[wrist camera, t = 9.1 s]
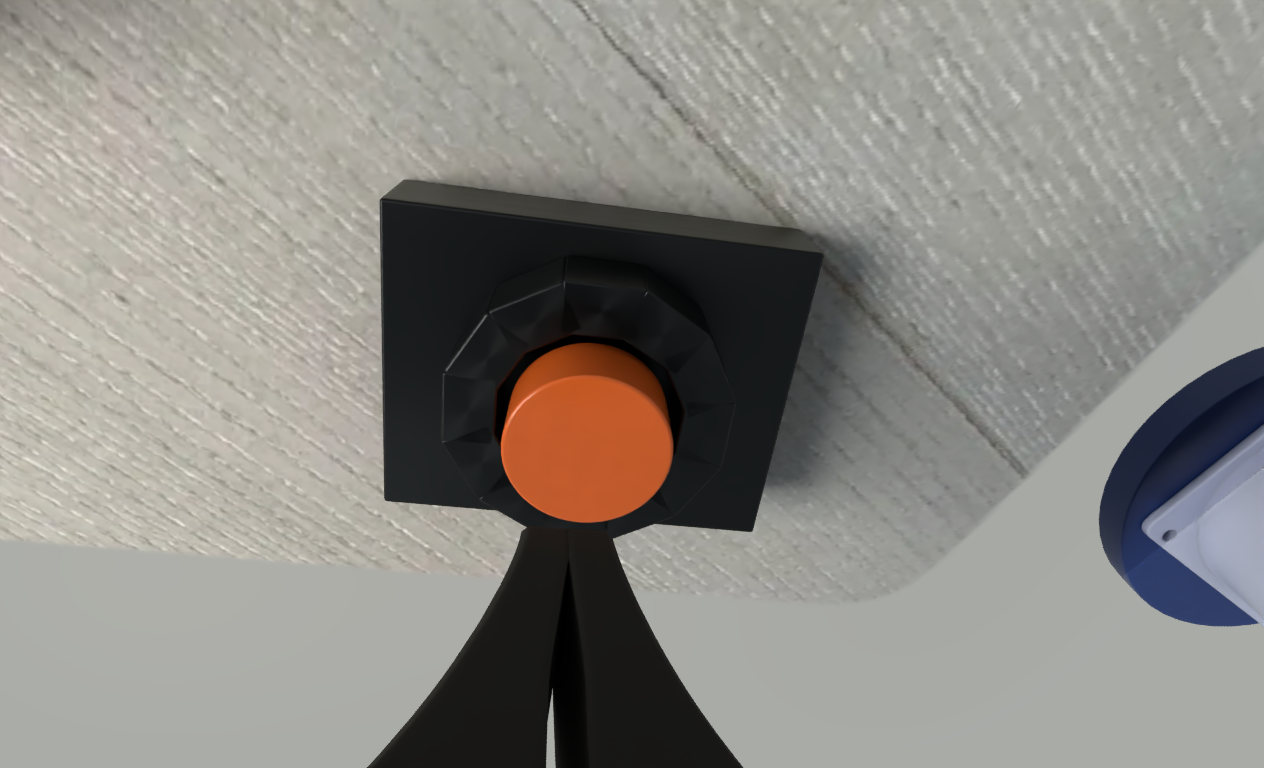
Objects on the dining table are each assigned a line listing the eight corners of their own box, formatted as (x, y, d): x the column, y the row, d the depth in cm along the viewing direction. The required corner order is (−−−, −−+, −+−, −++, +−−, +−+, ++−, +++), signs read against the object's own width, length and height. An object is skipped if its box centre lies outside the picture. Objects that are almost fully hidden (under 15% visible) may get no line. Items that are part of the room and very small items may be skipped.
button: (678, 350, 16) (687, 386, 15) (654, 485, 18) (659, 530, 16) (514, 332, 16) (505, 367, 14) (504, 471, 17) (495, 517, 16)
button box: (801, 229, 19) (849, 278, 15) (738, 487, 22) (766, 577, 19) (403, 178, 18) (354, 218, 14) (403, 457, 21) (364, 546, 18)
